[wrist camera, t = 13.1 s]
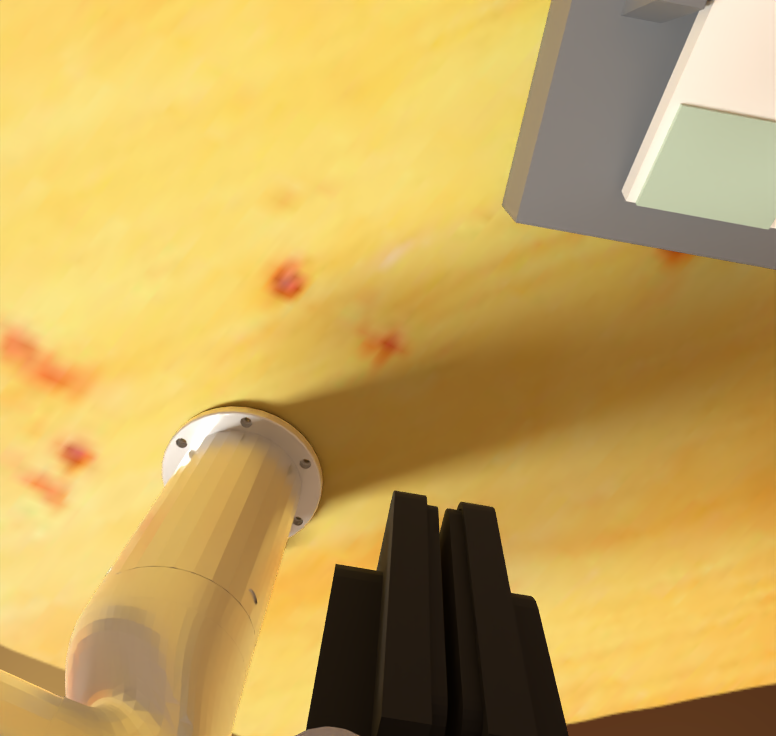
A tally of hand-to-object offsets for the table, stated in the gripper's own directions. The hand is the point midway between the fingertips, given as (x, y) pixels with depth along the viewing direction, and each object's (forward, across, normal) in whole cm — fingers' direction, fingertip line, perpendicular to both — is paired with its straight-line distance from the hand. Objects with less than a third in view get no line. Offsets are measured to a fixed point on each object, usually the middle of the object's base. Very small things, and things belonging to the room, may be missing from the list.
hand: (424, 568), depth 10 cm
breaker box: (+32, -18, -14) cm, 40 cm away
